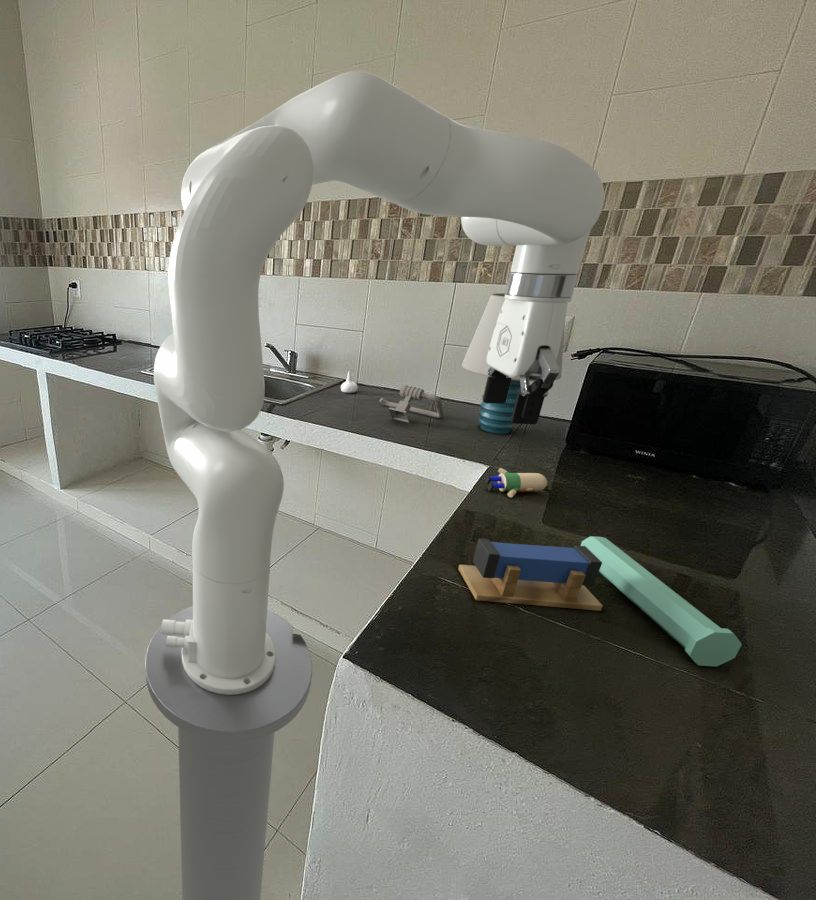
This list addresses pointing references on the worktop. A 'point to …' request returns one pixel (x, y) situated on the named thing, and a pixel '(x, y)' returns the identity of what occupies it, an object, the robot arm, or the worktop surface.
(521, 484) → the toy figurine
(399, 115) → the robot arm
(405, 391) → the toilet paper hanger
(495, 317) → the lamp
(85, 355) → the worktop surface
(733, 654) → the mint octagonal rod
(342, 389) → the garlic bulb
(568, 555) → the handle
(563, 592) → the holder
